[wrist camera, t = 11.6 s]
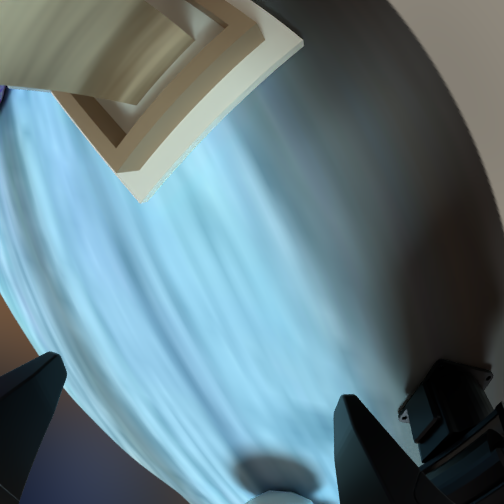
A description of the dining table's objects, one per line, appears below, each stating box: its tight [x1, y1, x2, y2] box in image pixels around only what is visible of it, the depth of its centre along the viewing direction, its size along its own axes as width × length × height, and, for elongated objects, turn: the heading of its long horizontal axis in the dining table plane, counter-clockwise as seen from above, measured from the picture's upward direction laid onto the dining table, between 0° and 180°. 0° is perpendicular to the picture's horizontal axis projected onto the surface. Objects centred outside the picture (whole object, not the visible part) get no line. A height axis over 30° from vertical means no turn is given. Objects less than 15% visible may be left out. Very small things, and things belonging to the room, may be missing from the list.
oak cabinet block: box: [0, 0, 195, 105], centre depth 10 cm, size 5×6×12 cm
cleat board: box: [7, 0, 304, 204], centre depth 14 cm, size 14×14×6 cm
